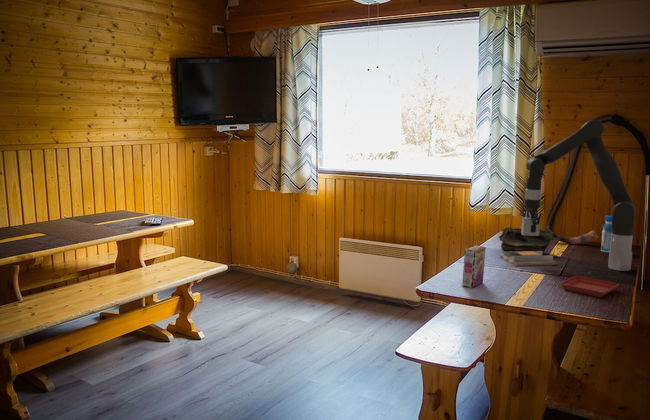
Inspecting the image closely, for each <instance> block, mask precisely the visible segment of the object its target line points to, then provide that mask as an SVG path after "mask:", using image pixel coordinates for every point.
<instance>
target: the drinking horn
mask: <svg viewBox="0 0 650 420" xmlns="http://www.w3.org/2000/svg"><path fill="white" fill-rule="evenodd" d="M545 228H546V229H547V232H550V233H552V235H553V238H554V240H556V241H557V242H561V243H564V244H570V245H584V244H587V243H591V242H592V241H595V240H597V239H599V235H598V234H597V233H596V232H595V230H594V229H593V230H590V231H589V232H587V233H585V234H580V235H578V236H575V237H565V236H561V234H556V233H555V232H553V231H552V230H551V229H550V226H549V225H547V226H546V227H545Z"/></svg>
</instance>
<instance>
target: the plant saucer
mask: <svg viewBox="0 0 650 420" xmlns="http://www.w3.org/2000/svg"><path fill="white" fill-rule="evenodd" d="M560 285H561V286H562V287H563V289H564V290H567V291H571V292H574V293H575V292H576V293H580V294H583V295H588V296H593V297H598V298H601V297H603V296H606V295H607V294H609V293H611V292H613V291H615V289H617V288H618V286H619V285H620V284H619V283H616V282H612V281H607V280H602V279H596V278H592V277H587V276H581V275H575V276H573V277H571V278H569V279H566V280H564V281H561V282H560Z"/></svg>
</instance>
